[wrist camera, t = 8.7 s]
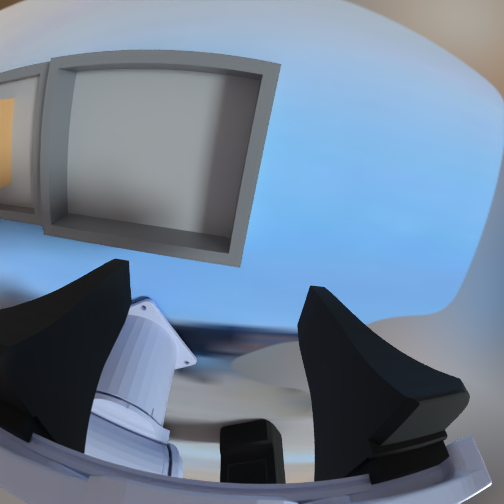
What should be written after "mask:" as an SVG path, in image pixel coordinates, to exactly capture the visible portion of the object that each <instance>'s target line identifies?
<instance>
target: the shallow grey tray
mask: <svg viewBox="0 0 504 504" xmlns="http://www.w3.org/2000/svg"><path fill="white" fill-rule="evenodd" d="M49 66H50V62H45V63H39V64H35V65H30V66H25V67H21V68H17V69H13V70H9V71H6V72H2V73H0V99H11V98H15V99H14V109H13V120H12V138H11V177H12V183H11V184H9V185H7V186H5V187H2V188H0V218H1V219H6V220H12V221H18V222H24V223H29V224H35V225H41V226H43V220H42V207H41V188H40V147H41V128H42V116H43V106H44V98H45V90H46V84H47V77H48V72H49Z"/></svg>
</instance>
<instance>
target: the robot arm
mask: <svg viewBox="0 0 504 504" xmlns="http://www.w3.org/2000/svg"><path fill="white" fill-rule="evenodd" d="M131 303H132V301H131V288H130V273H129V261H127V260H120V259H113V260H111V261H109V262H107V263H105V264H104V265H102V266H100V267H98V268H97V269H95V270H93V271H91V272H90V273H88V274H86V275H84V276H83V277H81V278H79V279H77V280H75V281H73V282H71V283H70V284H68V285H66V286H64V287H62V288H60V289H58V290H56V291H54V292H52V293H49V294H47V295H45V296H42V297H40V298H37V299H35V300H32V301H29V302H26V303H23V304H20V305H17V306H13V307H9V308H5V309H1V310H0V487H2V488H3V489H5V490H6V491H8V492H9V493H11V494H12V495H14V496H16V497H17V498H20V499H21V500H23V501H25V502H26V503H28V504H460V503H462V502H464V501H465V500H467V499H469V498H471V497H472V496H474V495H476V494H477V493H479V492H481V491H482V490H484V489H485V488H487V487H488V486H490V485H491V483H492V482H491V479H490V476H489V474H488V471H487V469H486V466H485V464H484V461H483V459H482V457H481V454H480V452H479V450H478V448H477V446H476V443H475V442H474V439H473V437H472V436H468V437H465V438H463V439H460V440H458V441H455V442H453V443H451V444H449V445H448V446H445V444H444V441H443V440H445V439H446V438H447V434H446V431H445V429H446V428H447V427H448V426H449V425H450V424H451V423H452V422H453V421H454V420H455V419H456V418H457V417H458V416H459V415H460V414H461V413H462V411H463V410H464V409H465V408H466V406H467V404H468V402H469V398H470V396H469V393H468V391H467V390H466V388H465V386H464V384H463V383H462V381H461V380H460V379H459V378H456V377H454V376H450V375H448V374H445V373H442V372H440V371H437V370H435V369H433V368H431V367H429V366H427V365H424V364H422V363H420V362H418V361H416V360H415V359H413V358H411V357H409V356H407V355H406V354H404V353H402V352H401V351H399V350H398V349H396V348H395V347H393V346H392V345H390V344H389V343H388V342H386V341H385V340H383V339H382V338H381V337H379V336H378V335H377V334H376V333H374V332H373V331H372V330H371V329H370V328H368V327H367V326H366V325H365V324H364V323H363V322H361V321H360V320H359V319H358V318H357V317H356V316H355V315H354V314H353V313H352V312H351V311H350V310H349V309H348V308H346V307H345V306H344V305H343V304H342V303H341V302H340V301H339V300H338V299H337V298H336V297H335V296H334V295H333V294H332V293H331V292H330V291H329V290H327V289H326V288H325V287H319V286H310V288H309V291H308V294H307V297H306V301H305V304H304V307H303V310H302V313H301V316H300V319H299V322H298V338H299V346H300V351H301V355H302V360H303V364H304V368H305V372H306V377H307V380H308V385H309V389H310V395H311V401H312V411H313V422H314V439H315V476H314V482H304V483H288V484H237V483H221V482H209V481H200V480H192V479H185V478H182V477H183V464H182V459H181V457H180V455H179V452H178V450H177V448H176V446H175V445H173V444H170V443H168V440H169V433H170V431H169V430H167V429H165V428H163V423H164V418H165V413H166V408H167V403H168V398H169V393H170V388H171V383H172V378H173V374H174V369H178V368H182V367H186V366H190V365H194V364H196V361H197V359H196V357H195V356H194V354H193V353H192V352H191V351H190V349H189V348H188V347H187V346H186V344H185V343H184V342H183V341H182V339H181V338H180V337H179V335H178V334H177V333H176V331H175V330H174V329H173V328H172V326H171V325H170V324H169V322H168V321H167V319H166V318H165V317H164V315H163V314H162V313H161V311H160V310H159V308H158V307H157V306H156V304H155V303H154V302H153V301H152V300H151V299H145V300H142V301H139V302H137V303H134V304H132V305H131ZM142 305H143V306H145V307H146V308H144V307H143V306H142ZM187 361H188V362H187Z"/></svg>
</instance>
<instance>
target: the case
mask: <svg viewBox="0 0 504 504" xmlns="http://www.w3.org/2000/svg"><path fill="white" fill-rule="evenodd" d="M280 67H281V64H277V63H273V62H268V61H262V60H257V59H251V58H245V57H238V56H231V55H224V54H215V53H205V52H194V51H177V50H120V51H104V52H93V53H84V54H76V55H68V56H62V57H56V58H51V61H50V66H49V72H48V77H47V84H46V90H45V98H44V106H43V116H42V128H41V147H40V188H41V207H42V220H43V230H44V234H45V235H50V236H55V237H61V238H66V239H72V240H77V241H83V242H88V243H94V244H100V245H105V246H111V247H117V248H123V249H129V250H135V251H140V252H146V253H152V254H158V255H165V256H171V257H177V258H183V259H189V260H195V261H202V262H208V263H214V264H221V265H227V266H234V267H240V265H241V259H242V254H243V249H244V244H245V239H246V234H247V229H248V224H249V219H250V214H251V209H252V204H253V199H254V194H255V189H256V184H257V179H258V174H259V169H260V164H261V159H262V154H263V149H264V144H265V139H266V134H267V130H268V125H269V120H270V115H271V110H272V105H273V101H274V96H275V91H276V86H277V81H278V77H279V72H280Z"/></svg>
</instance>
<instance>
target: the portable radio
mask: <svg viewBox="0 0 504 504" xmlns="http://www.w3.org/2000/svg"><path fill="white" fill-rule="evenodd" d="M220 454H221V471H220V482H221V483H237V484H286V482H285V471H284V460H283V448H282V438H281V434H280V433H279V431H278V430H277V429H276V427H275V426H274V425H273V424H272V423H271V422H268V421H266V420H260V421H255V422H250V423H245V424H239V425H233V426H227V427H223V428H221V432H220Z"/></svg>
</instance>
